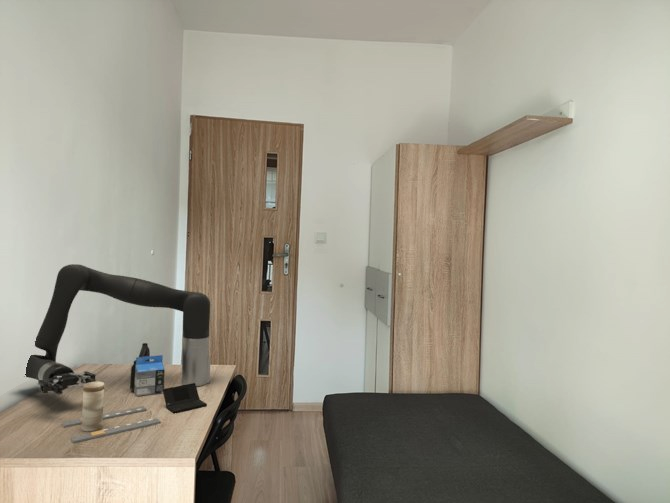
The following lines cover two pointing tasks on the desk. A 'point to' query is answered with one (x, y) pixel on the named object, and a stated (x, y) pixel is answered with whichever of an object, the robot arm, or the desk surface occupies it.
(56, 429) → the desk surface
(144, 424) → the dashed lane plates
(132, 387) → the black tall piece
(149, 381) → the label tape cartridge
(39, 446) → the desk surface
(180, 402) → the handheld gaming console
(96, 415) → the cream stub
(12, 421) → the desk surface
